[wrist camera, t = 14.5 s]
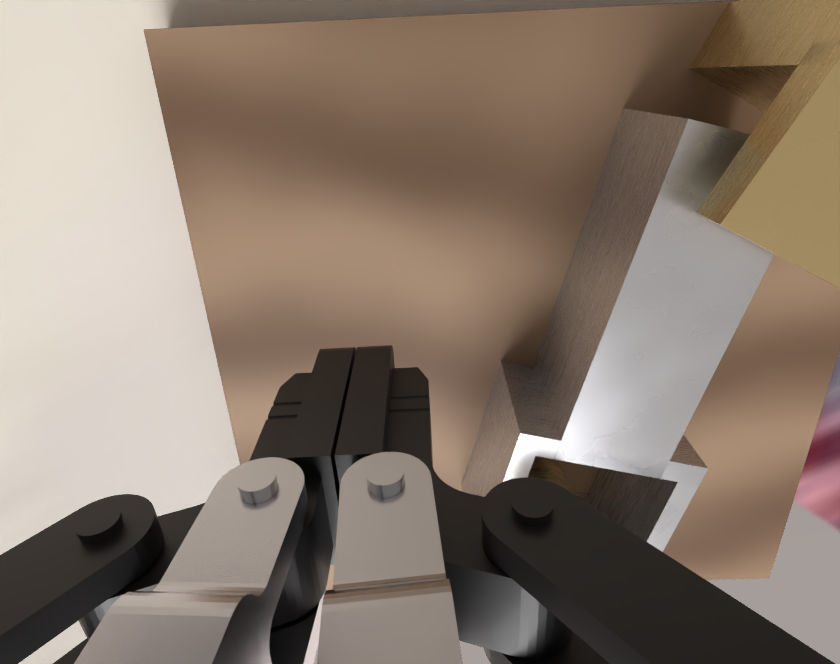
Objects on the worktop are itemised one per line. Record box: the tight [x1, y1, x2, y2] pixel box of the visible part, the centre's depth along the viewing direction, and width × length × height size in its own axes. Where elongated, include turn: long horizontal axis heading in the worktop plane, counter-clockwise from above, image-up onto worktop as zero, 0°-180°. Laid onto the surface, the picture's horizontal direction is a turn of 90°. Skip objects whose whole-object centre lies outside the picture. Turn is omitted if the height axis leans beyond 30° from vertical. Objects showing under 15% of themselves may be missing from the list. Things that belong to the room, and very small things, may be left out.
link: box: [461, 108, 774, 552], centre depth 16 cm, size 13×5×4 cm, turn 168°
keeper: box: [689, 0, 840, 289], centre depth 12 cm, size 5×4×6 cm
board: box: [144, 0, 840, 590], centre depth 18 cm, size 20×20×1 cm
